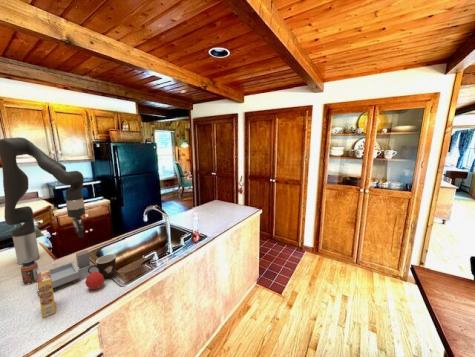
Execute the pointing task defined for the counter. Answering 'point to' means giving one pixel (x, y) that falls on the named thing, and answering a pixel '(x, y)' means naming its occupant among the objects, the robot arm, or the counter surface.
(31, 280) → the supplement bottle
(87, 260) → the steel block
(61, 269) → the grey shallow tray
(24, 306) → the counter surface
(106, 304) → the counter surface
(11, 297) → the counter surface
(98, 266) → the coffee mug
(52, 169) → the robot arm
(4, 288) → the counter surface
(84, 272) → the runner mat
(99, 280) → the tomato
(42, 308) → the candy box
